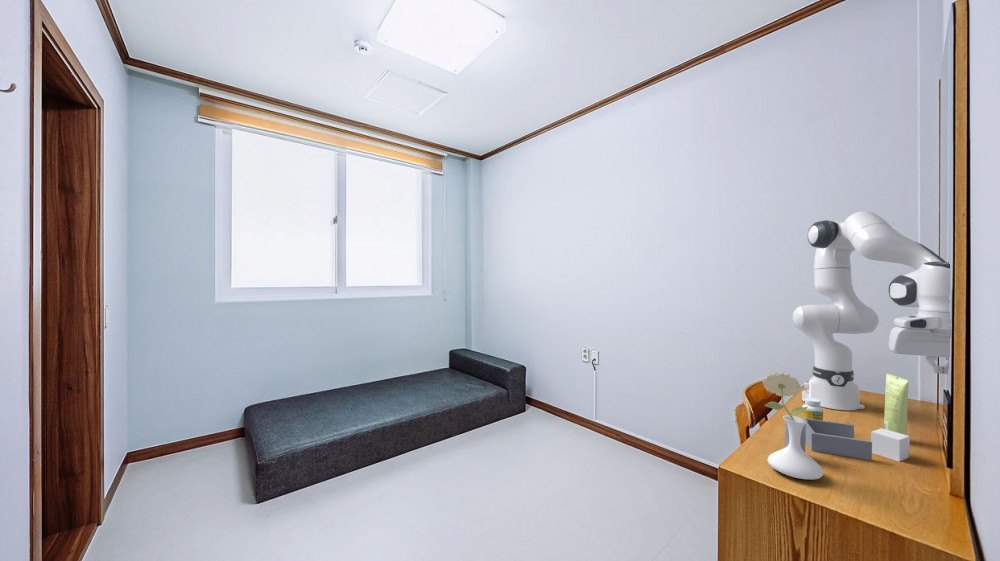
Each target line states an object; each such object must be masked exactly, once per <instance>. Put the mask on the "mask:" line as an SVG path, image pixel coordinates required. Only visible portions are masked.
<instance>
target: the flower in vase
mask: <svg viewBox="0 0 1000 561" xmlns="http://www.w3.org/2000/svg"><path fill="white" fill-rule="evenodd" d="M799 382H800V381H799V380H797V378H796V377H792V376H791V374H785V373H784V372H780V373H778V372H774V373H773V374H771V373H769V374H768V375H766V377H765V378H764V380H762V383H763V384H762V385H763V387H764V388H766V391H768V392H770V393H771V394H775V395H776V396H779V397H781V403H782V404H781V403H778V402H777V401H769V402H768V403H765V404H764V407H766V408H769V409H770V408H771V409H773V410H776V411H780V410H781V409H783V408H784V410H785V411H786V413H788V415H783V416H782V418H783V420H784V422H785V421H786V423H787V425H788V429H789V445H788V446H787V447H786V448H785V447H784V448H781V449H779V450H777V451H774V452H772V453H771V454H770V455H768V458H767V463H768V464H769V466H770V467H771V468H773V469H774V470H776V471H777V472H780V473H781V474H783V475H786V476H789V477H792V478H795V479H799V480H800V479H801V480H818V479H821V478H822V477H823V476H824V471H823V468H822V467H821V466H820V465H819V463H818V462H817V461H816V460H815V459H814V458H812V457H810V455H809V454H807V453H806V451H805V452H804V451H803V450H802V448H801V445H800V437H801V431H802V428H803V426H804V425H805V424H806V423H807V422H808V421H807V420H806V419H804V418H801V417H802V416H796V415H798V414H802V412H804V411H805V410H806V409H807V407H808V406H807V407H802V406H801V407H794V408H793V409H792V410H791V411H789V410H788V409H787V407H786V406H785V402H784V397H786V396H787V397H791V396H796V395H797V393H799V392H800V391H801V390H802V388H801V385H800V383H799Z"/></svg>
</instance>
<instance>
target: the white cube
mask: <svg viewBox="0 0 1000 561" xmlns="http://www.w3.org/2000/svg"><path fill="white" fill-rule="evenodd" d="M870 441H871V442H872V454H875V455H878V456H881V457H885V458H887V459H891V460H893V461H896V462H901V461H902V462H903V461H904V460H906V459H909V458H910V453H911V452H910V444H911V443H910V441H911V436H910V435H908V434H907V435H904V434H900V433H897V432H893V431H889V430H886V429H884V428H882V427H881V428H878V429H875V430H872V431H870ZM908 457H909V458H908Z"/></svg>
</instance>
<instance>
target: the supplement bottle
mask: <svg viewBox="0 0 1000 561" xmlns="http://www.w3.org/2000/svg"><path fill="white" fill-rule="evenodd" d="M804 403H805V404H803V405H802V406H801V408H802V407H807V406H808V407H807V409H806V410H805V411H804V412H802V413H801V415H802V416H801V417H802V418H809V419H816V420H824V409H823V407H822V406H820V405H821V401H820V400H818V399H814V398H805V402H804Z"/></svg>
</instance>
